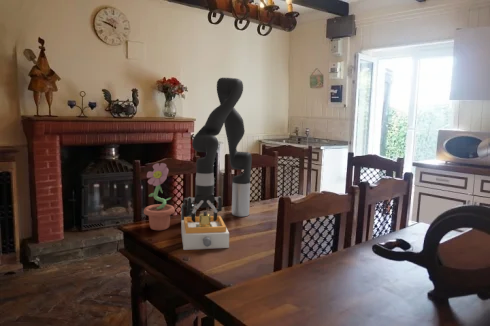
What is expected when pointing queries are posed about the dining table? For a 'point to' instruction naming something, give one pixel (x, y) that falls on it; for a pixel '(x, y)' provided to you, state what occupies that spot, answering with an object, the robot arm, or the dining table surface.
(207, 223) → the oil can
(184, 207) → the supplement bottle
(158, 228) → the decorative flower
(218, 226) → the white box with knob
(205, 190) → the robot arm
